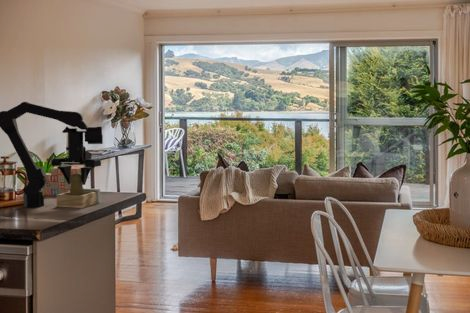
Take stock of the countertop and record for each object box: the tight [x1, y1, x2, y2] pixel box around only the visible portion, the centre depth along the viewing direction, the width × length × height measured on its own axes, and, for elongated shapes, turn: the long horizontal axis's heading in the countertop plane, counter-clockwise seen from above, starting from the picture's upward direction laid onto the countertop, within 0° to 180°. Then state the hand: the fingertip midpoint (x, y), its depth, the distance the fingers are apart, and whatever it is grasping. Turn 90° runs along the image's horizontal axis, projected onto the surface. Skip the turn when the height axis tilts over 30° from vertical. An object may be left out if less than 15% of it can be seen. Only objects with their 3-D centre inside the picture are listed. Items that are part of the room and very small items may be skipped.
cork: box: [70, 174, 84, 196], centre depth 220 cm, size 6×6×11 cm
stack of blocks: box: [40, 166, 84, 196], centre depth 253 cm, size 21×6×12 cm, turn 84°
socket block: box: [55, 191, 98, 209], centre depth 221 cm, size 11×11×4 cm
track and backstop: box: [83, 187, 101, 204], centre depth 219 cm, size 19×12×6 cm, turn 164°
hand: (76, 184), depth 220 cm, fingers open, 6 cm apart
